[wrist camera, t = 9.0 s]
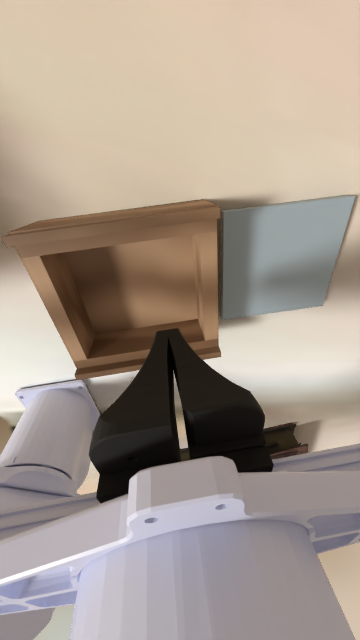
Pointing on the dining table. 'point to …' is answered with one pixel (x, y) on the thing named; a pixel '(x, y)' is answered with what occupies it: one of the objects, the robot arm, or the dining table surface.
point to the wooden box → (126, 281)
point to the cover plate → (280, 255)
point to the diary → (273, 443)
